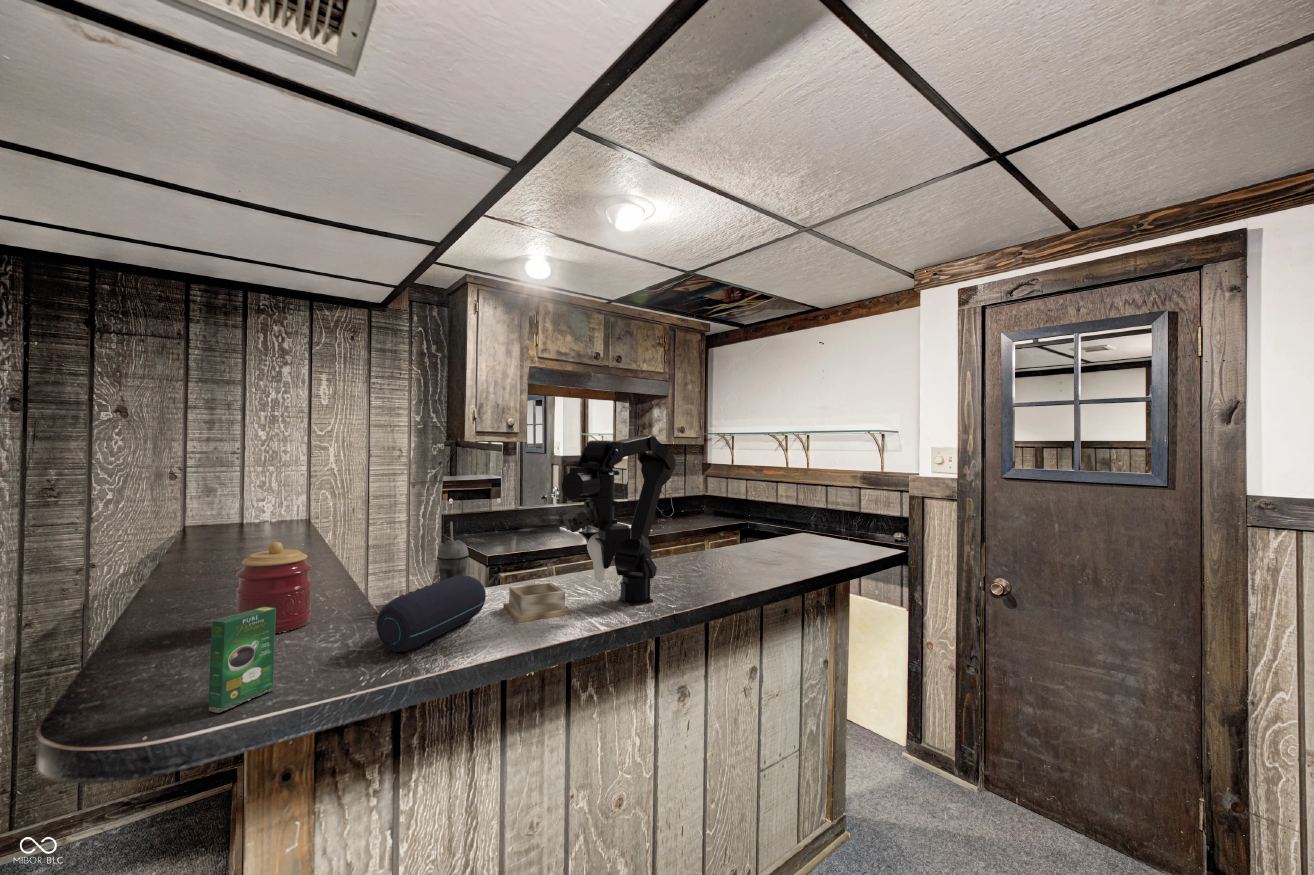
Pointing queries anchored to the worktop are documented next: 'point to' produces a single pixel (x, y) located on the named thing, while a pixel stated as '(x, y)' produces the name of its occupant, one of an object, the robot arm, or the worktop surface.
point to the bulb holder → (536, 602)
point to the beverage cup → (452, 558)
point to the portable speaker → (429, 612)
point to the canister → (276, 585)
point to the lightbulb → (596, 558)
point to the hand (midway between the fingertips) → (600, 565)
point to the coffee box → (241, 656)
